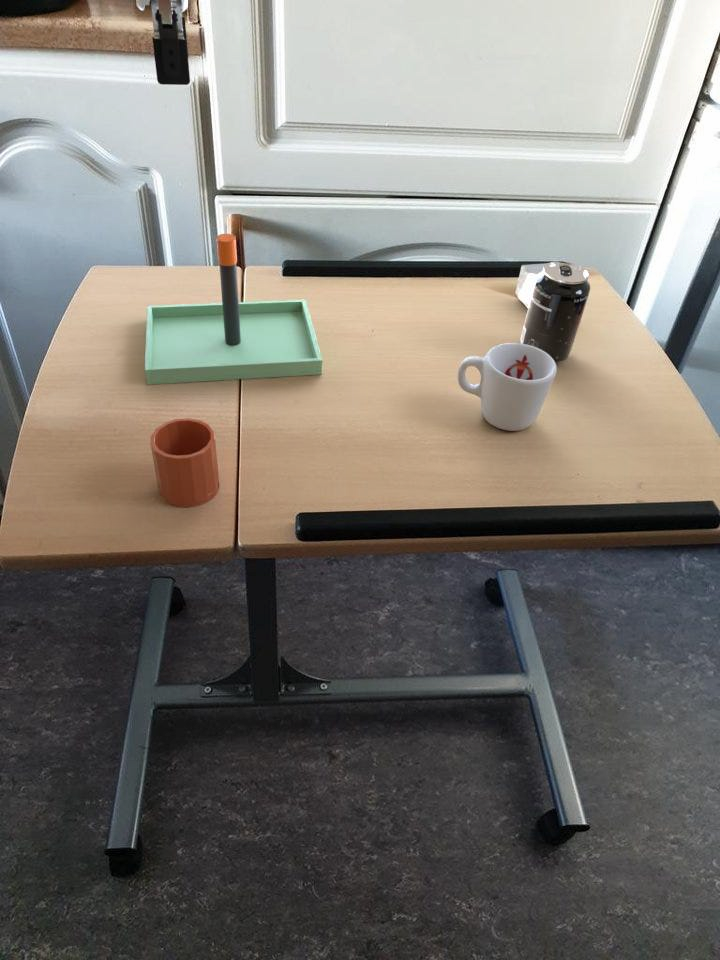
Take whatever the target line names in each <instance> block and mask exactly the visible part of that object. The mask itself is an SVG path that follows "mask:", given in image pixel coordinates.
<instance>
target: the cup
mask: <svg viewBox="0 0 720 960" xmlns="http://www.w3.org/2000/svg"><path fill="white" fill-rule="evenodd" d="M469 367H474V368H476V369H477V370H478V371H479V375H480V380H479V381H480V382H478V383H476V384H475V383H470V382H469V381H468V379H467V377H466V371H467V369H468V368H469ZM557 370H558V366H557V363H555V361H554V360H553V359H552V357H551V356H550V355H548V354H547V353H546V352H544V351H542V350H541V349H538V348H536V347H534V346H530V345H526V344H521V343H520V342H519V343H518V342H507V343H501V344H497V345H495V346H493V347H492V348H490V349H489V350H488V352H487V353H486V355H485V356H477V355H474V356H473V355H472V356H471V355H470V356H468V357H465V358H464V359H463V360H462V361H461V363H460V365H459V367H458V370H457V382H458V385H459V387H460V388H461V390H463V391H464V392H466V393H468V394H471V395H474V396H477V397H478V398H479V400H480V411H481V414H482V417H483V418H484V420H485V421H486V422H488V423H489V424H490V425H491V426H493V427H496V428H497V429H499V430H503V431H507V432H508V431H509V432H516V431H517V432H518V431H523V430H526V429H527V428H529V427H530V426H532V425H533V424H534V422H535V421H536V420H537V418H538V416H539V415H540V412H541V409H542V407H543V404H544V403H545V401H546V397H547V396H548V394H549V391H550V389H551V387H552V384H553V382H554V379H555V377H556V375H557V372H558V371H557Z"/></svg>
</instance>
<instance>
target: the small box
mask: <svg viewBox="0 0 720 960" xmlns="http://www.w3.org/2000/svg"><path fill="white" fill-rule="evenodd" d="M548 263H549V262H547V263H532V264H521V267H520V271H519V275H518V279H517V284H516V288H515V292H514V293H515V296H516V297H517V298H518V299H519V301H520V302H521V303H522V304H524V306H525V307H526V308H527V309H528V307H529V303H530V299H531V295H532V291H533V287H534V283H535V280H536V277H537V275H538V274H540V273H541V272H543V269H544V266H545V265H546V264H548Z"/></svg>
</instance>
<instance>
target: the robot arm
mask: <svg viewBox="0 0 720 960" xmlns="http://www.w3.org/2000/svg"><path fill="white" fill-rule="evenodd" d="M135 4H136V7H137V8H138V9H139V10H140V11H145V6H150V7H151V15H152V25H153V26H152V29H153V36H152V46H153V47H152V49H153V56H154V64H155V65H154V66H155V72H156V81H157V82H158V84H159V85H169V86H188V85H190V83H191V76H190V65H189V64H190V63H189V52H188V51H189V49H188V40H187V39H188V38H187V25H186V17H185V16H183V12H185V11H186V10H187V9H188V7H189V0H135Z"/></svg>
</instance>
